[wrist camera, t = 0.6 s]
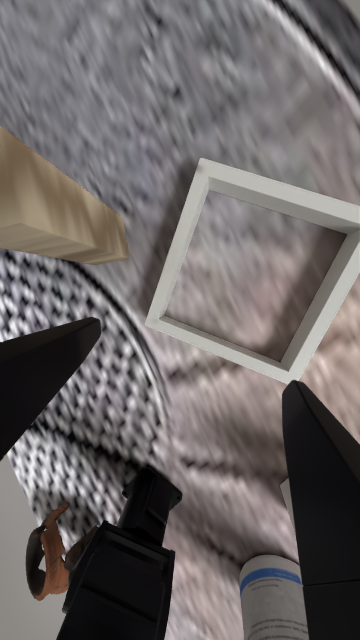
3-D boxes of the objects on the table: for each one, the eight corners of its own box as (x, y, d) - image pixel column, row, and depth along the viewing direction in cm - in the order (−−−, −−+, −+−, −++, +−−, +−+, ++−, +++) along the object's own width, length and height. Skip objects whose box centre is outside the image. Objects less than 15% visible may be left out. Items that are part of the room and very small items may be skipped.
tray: (285, 376, 22) (294, 387, 19) (151, 321, 23) (144, 325, 21) (367, 225, 18) (391, 215, 16) (202, 173, 20) (200, 157, 17)
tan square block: (129, 258, 22) (20, 223, 10) (95, 264, 23) (-47, 239, 11) (122, 217, 22) (-4, 122, 9) (87, 225, 23) (-74, 148, 10)
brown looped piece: (80, 554, 33) (20, 604, 26) (76, 487, 36) (23, 517, 30) (126, 569, 27) (65, 638, 21) (117, 488, 31) (62, 525, 24)
